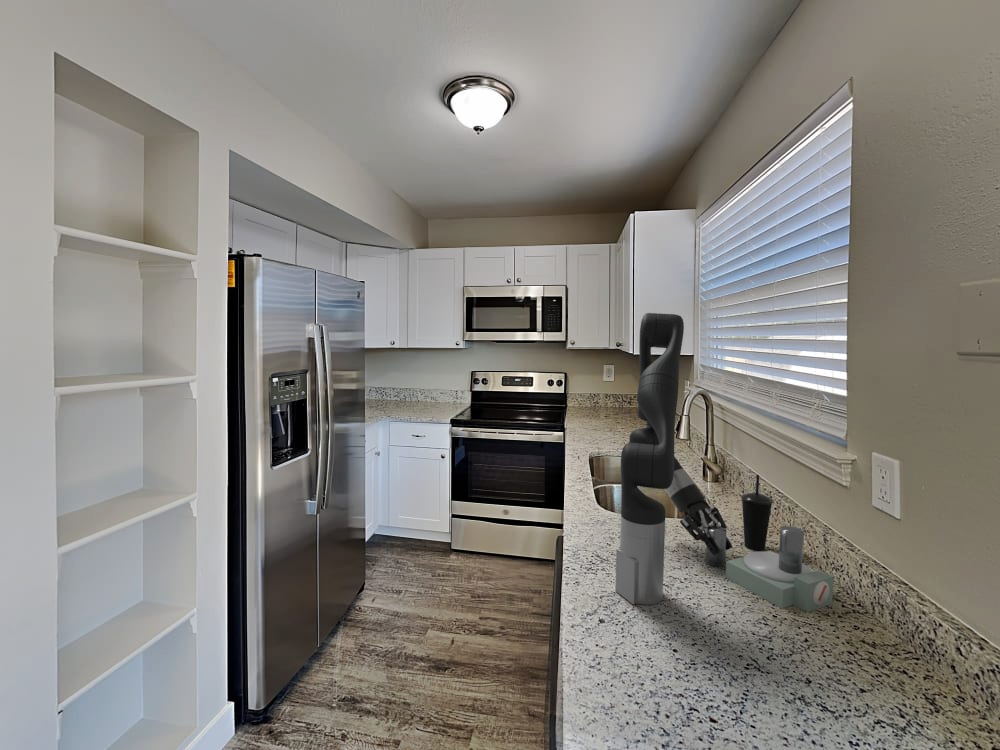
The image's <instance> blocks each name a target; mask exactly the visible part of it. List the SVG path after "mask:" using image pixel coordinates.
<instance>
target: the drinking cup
mask: <svg viewBox="0 0 1000 750" xmlns="http://www.w3.org/2000/svg"><path fill="white" fill-rule="evenodd" d="M755 477H756V479H755V481H756V482H755V492H748V493H745V494H744V493H743V494H742V495H740V498H741V505H742V506H741V507H742V524H743V541H744V543H743V544H744V547H745V548H747V549H748V550H751V551H753V552H764V551H765V549H766V543H767V537H768V531H769V523H770V518H771V511H772V506H773V504H774V500H773V499H772V498H771V497H769V496H768V495H765V494H763V493H760V492H759V491H760V490H759V489H760V475H759V474H756V476H755Z"/></svg>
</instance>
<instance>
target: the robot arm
mask: <svg viewBox="0 0 1000 750" xmlns="http://www.w3.org/2000/svg"><path fill="white" fill-rule="evenodd" d="M639 327H640V328H639V344H638V345H639V349H638V350H639V354H638V355H639V359H638V360H639V381H638V386H637V387H638V388H637V393H636V394H637V395H636V400H637V401H636V402H637V416H638V418H639V419H640V420H642V421H644V422H646V427H642V428H641V427H640V428H637V429H634V430H632V432H631V433H630V435H629V442H627V443H625V444H624V446H623V448H622V449H621V450H622V451H621V455H620V482H621V483H620V484H621V489H620V490H621V491H620V492H621V494H620V495H621V501H620V502H621V503H620V507H621V508H620V539H619V540H620V542H619V548H617V549H616V552H615V554H616V555H615V557H616V558H615V587H614V589H615V592H616V593H618V595H620V596H622V597H623V598H624V599H625V600H626V601H627V602H629V603H631V604H632V605H648V606H649V605H656V604H658V603H660V602H662V601H663V598H664V573H665V572H664V571H665V566H664V565H665V538H666V537H665V536H666V534H665V533H666V507H665V506H664V505H663V503H661V502H660V501H658V500H657V499H654V498H652V497H650V496H648V495H646V494H645V493H643V491H642V490H640V489H639V487H641V488H649V489H658V490H664V491H665V493H666V494H667V495H668V497H669V499H670V500H671V501H672V503H673V505H674V506H675V507H676V510H677V511H678V512H679V513H681V514H684V517H683V518H682V519H680V521H679V522H680V525H681V526H682V527H683V528H684V529H685V530H686V531H687V532H688V533H689V534H690V535H691V537H692V538H693V540H695V541H696V542H698V541H701V542H703V543H704V544H705V546H707V547H708V549H709V550H710V552H711V553H712V554H713V555H716V554H718V553H720V552H721V550H720V548H719V547H718V545H717V544H716V542H715V541H714V539H713V538H712V537H711V535H710V533H709V531H708V526H719V527H723V528H725V529H726V530H727V525H726V523H725V521H724V519H723V517H722V514H721V512H720V511H719V508H718V507H717V506H714V507H713V508H710V507H709V506H708V505H707V504H705V500H706V498H705V496H704V494H703V493H702V491H701V490H700V489H699V487H698V486H697V484H696V483H695V482H694V480H693V479H692V477H691V475H690V474H689V473H688V471H687V472H686V470H685V469H684V467H683V466H682V465H681V463H680V461H678V459H677V457H676V456H675V427H676V415H677V407H678V406H677V405H678V397H679V386H680V385H679V384H680V383H679V380H680V377H679V375H680V373H679V372H680V360H681V359H680V358H681V353H682V348H683V347H682V346H683V340H684V334H685V333H684V331H685V325H684V319H683V317H682V316H681V315H679V314H675V313H674V314H673V313H659V312H658V313H655V312H653V313H652V312H647V313H645V314H644V315H643V316H642V318H641V322H640V326H639ZM652 348H657V349H660V348H661V349H665V350H664V352H663V353H662V354H661V355H660V356H659V357H658V358H657V359H655V360H654V361H653V358H652ZM710 537H711V538H710ZM730 549H733V544H732V543H731V541H730V539H729V538H728V536H726V551H729V550H730Z"/></svg>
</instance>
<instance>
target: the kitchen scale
mask: <svg viewBox="0 0 1000 750" xmlns="http://www.w3.org/2000/svg"><path fill="white" fill-rule="evenodd" d="M725 578H726V579H728V580H729V581H731V582H732V583H733V582H734V583H735V584H736V585H738V586H740V587H742V588H743V589H745V590H747V591H750V592H752V593H753V594H755V595H757V596H758V597H761V598H762V599H764V600H766V601H768V602H770V603H772V604H773V605H775V606H777V607H779V608H781V609H784V608H787V607H791V606H795V607H796V608H798V609H801V610H803V611H804V612H807V613H810V612H812V611H815V610H819V609H821V608H823V607H827V606H830V605H833V591H834V575H831V574H828V573H826V572H824V571H822V570H819V569H817V570H816V569H813V568H811V567H809V566H808V565H806V564H805V563H803V562H802V573H801V574H790V573H787V572H784V571H782V570H780V569H779V553H777V552H776V551H775V552H774V551H772V550H771V549H770V550H767V551H765V550H764V551H750V552H747V553H746V554H745V555H744V556H742V557H738V558H732V559H729V560H725Z"/></svg>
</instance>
